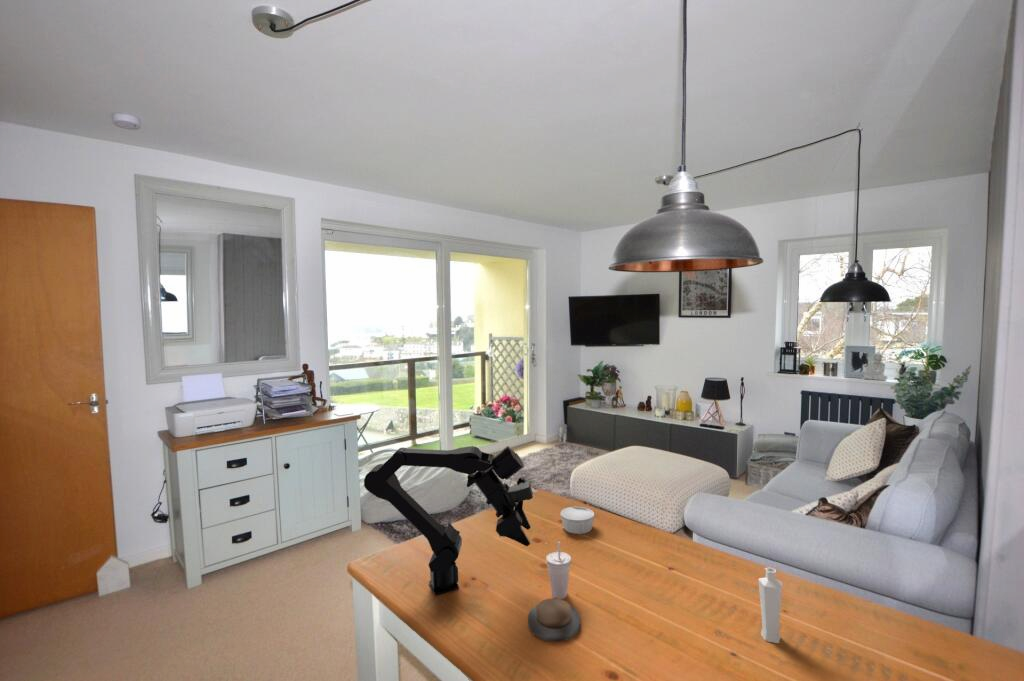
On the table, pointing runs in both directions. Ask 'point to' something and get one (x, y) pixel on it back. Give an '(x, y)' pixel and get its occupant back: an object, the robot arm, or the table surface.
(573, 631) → the pedestal
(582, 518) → the ramekin
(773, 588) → the perfume bottle
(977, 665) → the table surface
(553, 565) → the white drink cup
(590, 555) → the table surface
